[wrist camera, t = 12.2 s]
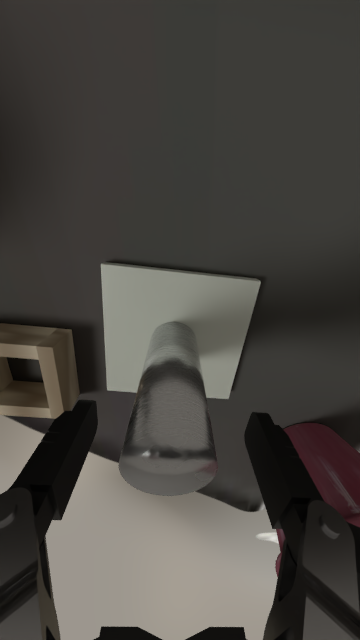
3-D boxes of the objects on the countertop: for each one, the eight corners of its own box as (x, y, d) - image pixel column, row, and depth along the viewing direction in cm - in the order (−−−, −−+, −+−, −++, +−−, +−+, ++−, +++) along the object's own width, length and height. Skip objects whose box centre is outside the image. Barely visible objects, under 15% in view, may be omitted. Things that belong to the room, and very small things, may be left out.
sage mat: (110, 383, 20) (107, 390, 19) (105, 261, 15) (100, 263, 14) (226, 391, 21) (228, 399, 20) (256, 278, 16) (261, 281, 15)
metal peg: (149, 359, 18) (119, 493, 9) (151, 319, 16) (117, 431, 7) (193, 363, 18) (208, 497, 9) (199, 324, 17) (226, 439, 7)
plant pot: (308, 385, 21) (478, 583, 9) (382, 436, 24) (573, 627, 13) (219, 456, 25) (255, 648, 14) (292, 490, 29) (370, 667, 17)
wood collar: (3, 388, 20) (-24, 413, 18) (-19, 321, 17) (-55, 338, 14) (79, 394, 21) (65, 418, 18) (71, 329, 18) (52, 347, 15)
